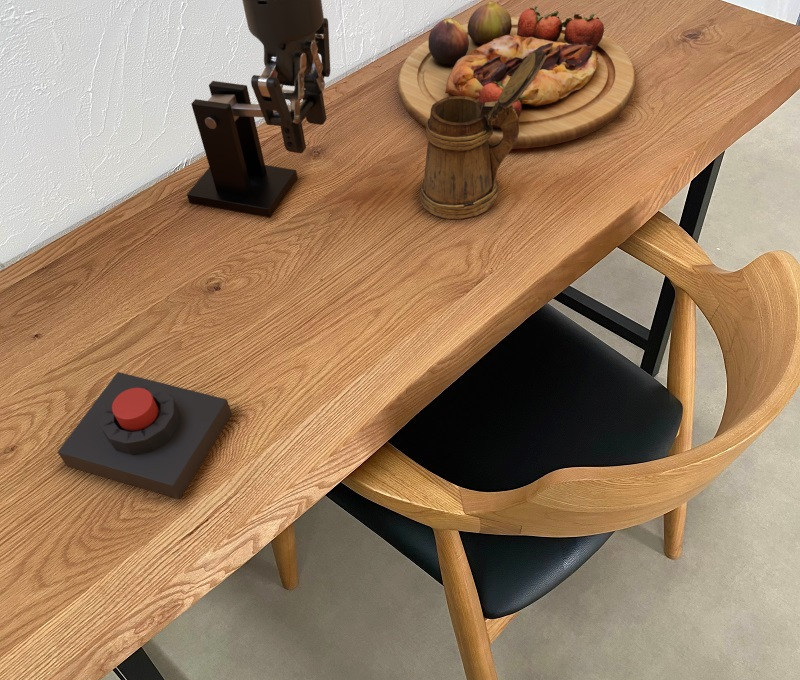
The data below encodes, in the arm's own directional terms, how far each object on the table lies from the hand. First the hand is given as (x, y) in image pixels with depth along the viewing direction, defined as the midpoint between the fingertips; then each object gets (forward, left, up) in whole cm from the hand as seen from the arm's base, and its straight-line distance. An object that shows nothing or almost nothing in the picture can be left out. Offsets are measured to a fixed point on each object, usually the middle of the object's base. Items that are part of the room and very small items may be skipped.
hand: (306, 135), depth 88 cm
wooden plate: (+16, +31, -9) cm, 36 cm away
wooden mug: (+18, +6, -9) cm, 21 cm away
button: (-1, -37, -6) cm, 37 cm away
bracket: (-10, 0, -9) cm, 14 cm away
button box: (-1, -37, -9) cm, 38 cm away
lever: (-5, 0, +1) cm, 5 cm away
